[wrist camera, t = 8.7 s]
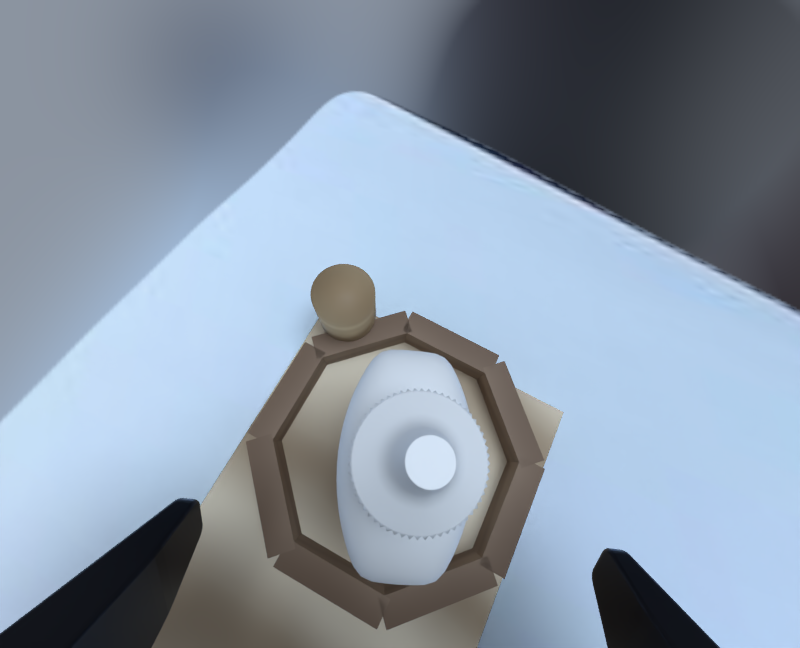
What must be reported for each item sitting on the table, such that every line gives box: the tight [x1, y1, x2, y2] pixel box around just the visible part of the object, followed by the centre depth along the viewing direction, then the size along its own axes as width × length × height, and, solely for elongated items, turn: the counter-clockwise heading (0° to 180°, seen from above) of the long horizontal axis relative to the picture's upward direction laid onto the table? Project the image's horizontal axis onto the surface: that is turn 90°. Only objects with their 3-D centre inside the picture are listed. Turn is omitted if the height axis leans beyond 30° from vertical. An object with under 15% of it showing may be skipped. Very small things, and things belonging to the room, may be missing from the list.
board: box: [152, 264, 563, 648], centre depth 14 cm, size 16×12×5 cm
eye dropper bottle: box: [336, 350, 490, 585], centre depth 11 cm, size 4×6×12 cm
